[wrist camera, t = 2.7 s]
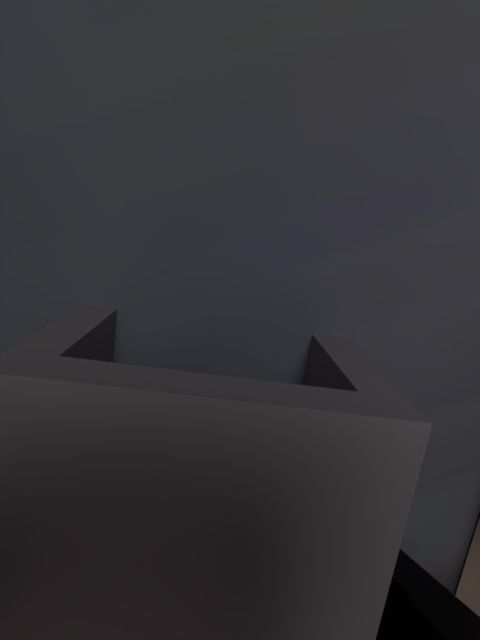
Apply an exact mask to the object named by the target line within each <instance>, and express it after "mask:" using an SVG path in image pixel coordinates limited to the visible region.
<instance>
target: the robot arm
mask: <svg viewBox="0 0 480 640" xmlns="http://www.w3.org/2000/svg"><path fill="white" fill-rule="evenodd" d="M376 640H480V617H479V616H478V615H477V614H476V613H475V612H473V611H472V610H471V609H470V608H469V607H468V606H466V605H465V604H464V603H463V602H462V601H461V600H459V599H458V598H457V597H456V596H455V595H454V594H452V593H451V592H450V591H449V590H448V589H446V588H445V587H444V586H443V585H442V584H441V583H439V582H438V581H437V580H436V579H435V578H434V577H432V576H431V575H430V574H429V573H428V572H427V571H425V570H424V569H423V568H422V567H421V566H420V565H418V564H417V563H416V562H415V561H414V560H412V559H411V558H410V557H409V556H408V555H407V554H405V553H404V552H403V551H402V550H401V549H399V553H398V557H397V561H396V564H395V568H394V572H393V576H392V580H391V583H390V587H389V591H388V595H387V598H386V602H385V606H384V610H383V613H382V617H381V621H380V625H379V628H378V632H377V636H376Z"/></svg>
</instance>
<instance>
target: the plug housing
mask: <svg viewBox="0 0 480 640" xmlns="http://www.w3.org/2000/svg"><path fill="white" fill-rule="evenodd" d="M116 311H117V310H116V309H108V308H100V307H93V306H85V305H82V306H80V307H79V308H77V309H75V310H74V311H72V312H70V313H68V314H67V315H65V316H63V317H61V318H60V319H58V320H56V321H55V322H53V323H51V324H49V325H48V326H46V327H44V328H42V329H41V330H39V331H37V332H36V333H34V334H32V335H30V336H29V337H27V338H25V339H23V340H22V341H20V342H18V343H17V344H15V345H13V346H11V347H10V348H8V349H6V350H4V351H3V352H1V353H0V640H376V636H377V632H378V628H379V625H380V621H381V617H382V613H383V610H384V606H385V602H386V598H387V595H388V591H389V587H390V583H391V580H392V576H393V572H394V568H395V564H396V561H397V557H398V553H399V549H400V546H401V542H402V538H403V534H404V531H405V527H406V523H407V519H408V515H409V512H410V508H411V504H412V500H413V497H414V493H415V489H416V485H417V482H418V478H419V474H420V470H421V466H422V463H423V459H424V455H425V451H426V448H427V444H428V440H429V436H430V433H431V429H432V425H433V423H432V422H431V421H430V420H429V419H428V418H427V417H426V416H425V415H424V414H423V413H422V412H421V411H420V410H419V409H417V408H416V407H415V406H414V405H413V404H412V403H411V402H410V401H409V400H408V399H407V398H406V397H405V396H404V395H403V394H402V393H401V392H400V391H399V390H398V389H396V388H395V387H394V386H393V385H392V384H391V383H390V382H389V381H388V380H387V379H386V378H385V377H384V376H383V375H382V374H381V373H380V372H379V371H378V370H376V369H375V368H374V367H373V366H372V365H371V364H370V363H369V362H368V361H367V360H366V359H365V358H364V357H363V356H362V355H361V354H360V353H359V352H358V351H357V350H355V349H354V348H353V347H352V346H351V345H350V344H349V343H348V342H347V341H346V340H345V339H343V338H336V337H328V336H320V335H312V340H311V346H310V351H309V356H308V362H307V367H306V373H305V378H304V383H303V385H299V384H290V383H282V382H274V381H265V380H257V379H248V378H240V377H231V376H223V375H215V374H206V373H198V372H189V371H181V370H172V369H164V368H156V367H147V366H139V365H130V364H122V363H114V362H113V350H114V337H115V324H116Z"/></svg>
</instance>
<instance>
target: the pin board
mask: <svg viewBox="0 0 480 640" xmlns="http://www.w3.org/2000/svg"><path fill="white" fill-rule="evenodd" d="M455 596H456V597H457V598H458V599H459V600H461V601H462V602H463V603H464V604H465V605H466V606H468V607H469V608H470V609H471V610H472V611H473V612H475V613H476V614H477V615H478V616H479V617H480V517H479V520H478V523H477V527H476V530H475V533H474V536H473V540H472V543H471V546H470V549H469V553H468V556H467V559H466V562H465V566H464V569H463V572H462V575H461V579H460V582H459V585H458V588H457V591H456V595H455Z"/></svg>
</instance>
